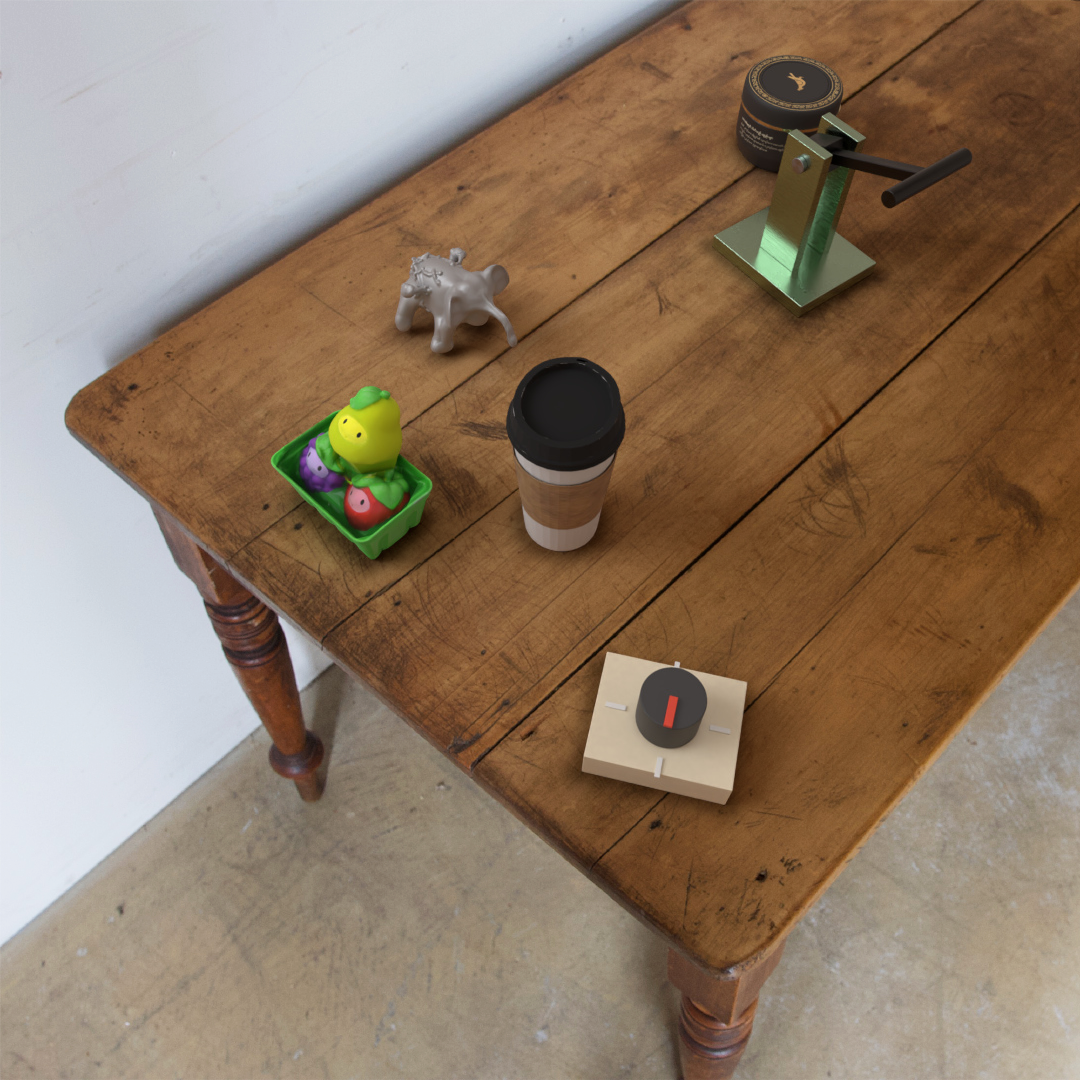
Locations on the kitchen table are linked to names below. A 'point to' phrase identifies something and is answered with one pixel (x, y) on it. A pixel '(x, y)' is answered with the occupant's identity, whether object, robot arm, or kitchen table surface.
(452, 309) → the gray elephant figurine
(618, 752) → the panel
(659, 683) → the knob
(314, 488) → the fruit basket
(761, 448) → the kitchen table surface
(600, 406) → the coffee cup
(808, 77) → the jar
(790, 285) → the green metal lever stand
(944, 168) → the black lever handle
